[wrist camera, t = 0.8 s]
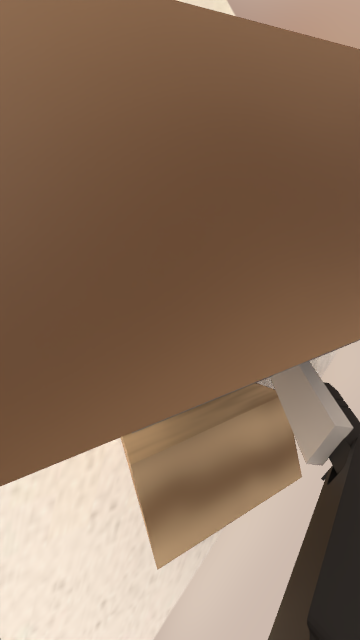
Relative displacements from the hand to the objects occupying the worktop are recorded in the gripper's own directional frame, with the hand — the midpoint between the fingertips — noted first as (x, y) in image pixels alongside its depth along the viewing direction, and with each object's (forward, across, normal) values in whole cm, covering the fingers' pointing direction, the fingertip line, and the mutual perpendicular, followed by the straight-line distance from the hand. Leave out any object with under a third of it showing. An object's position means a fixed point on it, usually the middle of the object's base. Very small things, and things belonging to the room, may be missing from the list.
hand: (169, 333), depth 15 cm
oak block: (+13, 0, -21) cm, 25 cm away
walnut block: (-6, 0, +6) cm, 9 cm away
